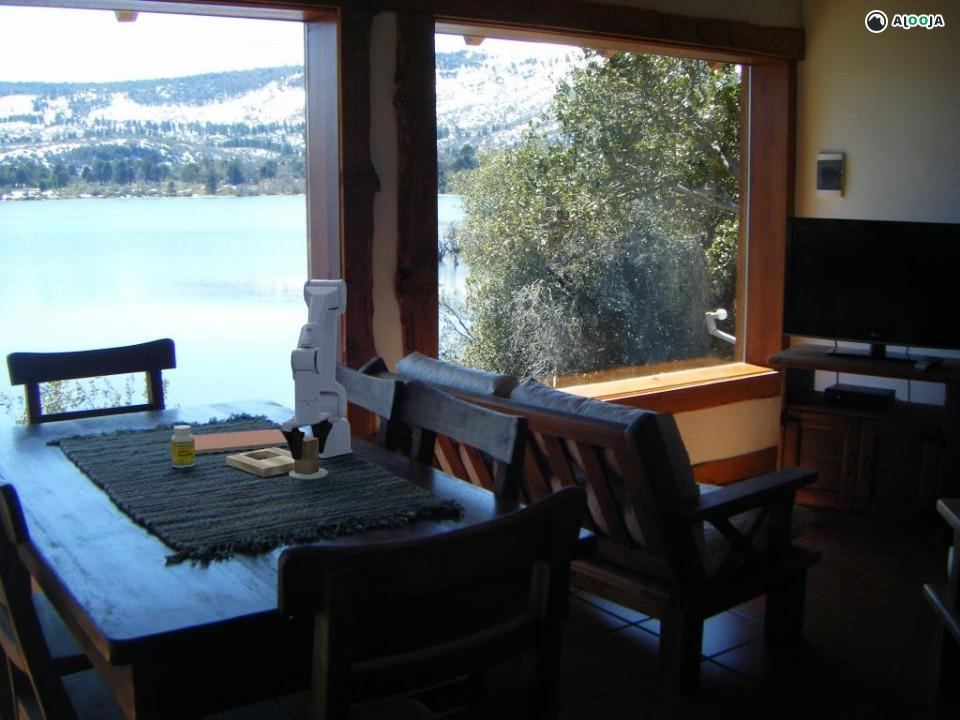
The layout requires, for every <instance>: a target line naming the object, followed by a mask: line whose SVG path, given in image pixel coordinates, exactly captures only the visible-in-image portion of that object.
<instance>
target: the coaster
mask: <svg viewBox="0 0 960 720" xmlns="http://www.w3.org/2000/svg"><path fill="white" fill-rule="evenodd" d="M328 475H329V472H328V470H327V469H325V468H323V467H319V472H316V473H313V474H309V475H304V474H299V473H295V469H294V470H291V471H290V472H288V476H289V477H290V478H292V479H297V480H304V481H305V480H317V479H322V478H326V476H328Z"/></svg>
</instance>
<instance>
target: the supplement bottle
mask: <svg viewBox="0 0 960 720" xmlns="http://www.w3.org/2000/svg"><path fill="white" fill-rule="evenodd" d="M173 433H174V435H172V437H171V460H172V467H173V468H176V469H186V468H185V467H189V468H191V467H194V466H195V465H196V455H195V440H194V436H193V435H194V434H192V426H191V425H187V424H182V425H181V424H180V425H175V426H173Z"/></svg>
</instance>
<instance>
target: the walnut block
mask: <svg viewBox="0 0 960 720" xmlns="http://www.w3.org/2000/svg"><path fill="white" fill-rule="evenodd" d="M294 462H295V473H299V474H304V475H309V474H313V473H316V472H319V468H320V457H319V438H314V437H312V436H308V435H304V438H303V443H302V457H301V460H295V459H294Z"/></svg>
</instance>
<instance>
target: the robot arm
mask: <svg viewBox="0 0 960 720" xmlns="http://www.w3.org/2000/svg"><path fill="white" fill-rule="evenodd" d="M347 294H348V293H347V284H346V282H345V281H344V279H311V278H307V279H306V280H305V281H304V284H303V299H304V302H305V304H306V307H307V309H308V316H307V321H306V322H307V323H305V324H303V325H302V327H301V328H300V333H299V337H298V342H297V346H296V348H295V350H294V349H292V350H291V355H290V368H291V373H292V374H291V375H292V380H293V381H294V382H293V383H294V415H293V416H292V418H290V419H289V420H286V421H283V422H282V423H281V424H282V429H281V432H282V434H283V435H284V437H285V439H286V441H287V443H288V445H289V446H288V449H289V450H290V452H291V455H292V458H293V459H295V460H301V457H302V443H303V438H304V436H306V432H305V431H301V430H300V429H301V428H305V427H309V426H310V428H311V437H314V438H319V459H327V458H332V457H338V456H342V455H347V454H350V453H353V450H352V449H351V448H352V447H351V446H352V445H351V439H352V438H351V424H350V422H349V420H348V419H347V418H346V414H347V409H348V406H347V405H348V404H347V403H348V402H347V391H346V388H345V387H344V386H343V385H342V384H341V383H339V382H338V381H337V380H336V373H337V371H336V370H337V369H336V366H337V342H338V341H337V340H338V323H339V322H338V321H339V317H340V316H341V315H343V314H344V313H345V312H346V309H347ZM321 392H324V393H321ZM331 392H332V393H331ZM337 455H338V456H337Z"/></svg>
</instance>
